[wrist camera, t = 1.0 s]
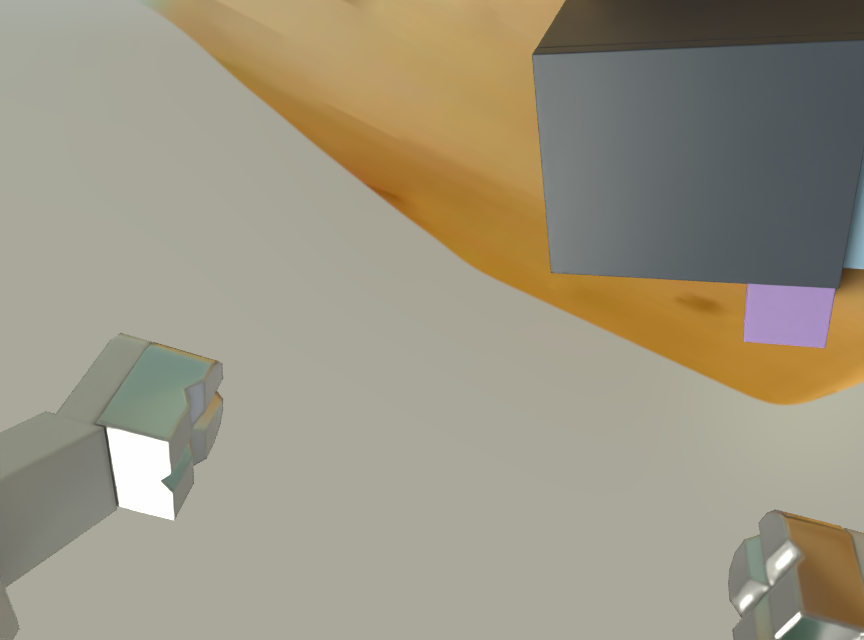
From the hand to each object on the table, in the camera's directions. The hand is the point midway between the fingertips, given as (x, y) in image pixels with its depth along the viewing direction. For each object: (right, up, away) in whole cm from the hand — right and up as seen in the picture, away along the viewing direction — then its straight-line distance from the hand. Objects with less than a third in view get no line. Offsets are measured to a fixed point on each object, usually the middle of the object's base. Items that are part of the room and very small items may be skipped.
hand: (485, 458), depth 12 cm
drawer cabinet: (+15, +15, +33) cm, 39 cm away
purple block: (+21, +5, +38) cm, 44 cm away
